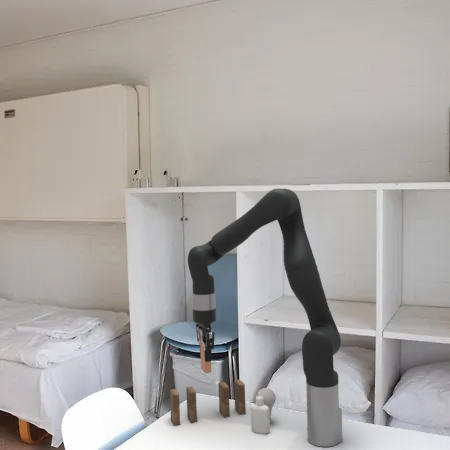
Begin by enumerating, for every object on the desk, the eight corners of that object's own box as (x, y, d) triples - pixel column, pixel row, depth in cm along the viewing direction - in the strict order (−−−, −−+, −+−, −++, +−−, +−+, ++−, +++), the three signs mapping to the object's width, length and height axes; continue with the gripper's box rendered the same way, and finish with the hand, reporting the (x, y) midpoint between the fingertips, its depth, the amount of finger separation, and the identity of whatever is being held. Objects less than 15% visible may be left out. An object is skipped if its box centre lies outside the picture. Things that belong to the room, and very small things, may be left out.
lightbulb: (263, 416, 173) (262, 383, 172) (279, 421, 170) (278, 387, 169) (253, 423, 168) (252, 389, 167) (269, 428, 165) (268, 393, 164)
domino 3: (206, 367, 176) (205, 337, 175) (211, 372, 171) (210, 341, 171) (201, 368, 175) (200, 338, 175) (205, 373, 171) (204, 342, 170)
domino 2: (193, 416, 176) (192, 386, 175) (197, 422, 171) (195, 391, 170) (187, 417, 175) (186, 387, 174) (191, 423, 170) (189, 392, 170)
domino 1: (176, 418, 174) (175, 388, 173) (180, 425, 169) (179, 394, 169) (170, 419, 173) (169, 389, 173) (174, 426, 169) (172, 395, 168)
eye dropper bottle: (260, 426, 166) (259, 388, 166) (272, 432, 162) (270, 393, 161) (249, 430, 164) (248, 391, 163) (260, 436, 159) (259, 397, 159)
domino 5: (240, 408, 181) (239, 379, 180) (245, 414, 176) (244, 384, 175) (235, 409, 180) (234, 380, 179) (239, 415, 175) (238, 385, 175)
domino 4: (225, 410, 179) (224, 381, 178) (229, 416, 174) (228, 386, 173) (219, 411, 178) (218, 382, 178) (223, 417, 174) (222, 387, 173)
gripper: (222, 310, 166) (223, 363, 167) (209, 301, 180) (210, 351, 181) (198, 312, 164) (200, 367, 165) (187, 303, 178) (189, 353, 179)
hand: (205, 358), depth 173 cm, fingers closed on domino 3, 5 cm apart
